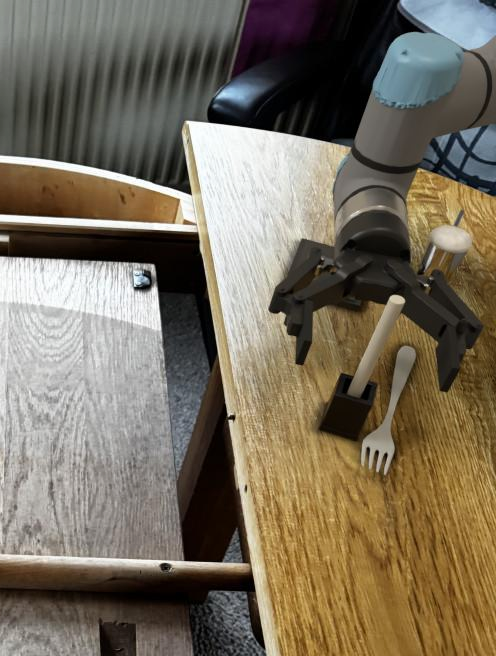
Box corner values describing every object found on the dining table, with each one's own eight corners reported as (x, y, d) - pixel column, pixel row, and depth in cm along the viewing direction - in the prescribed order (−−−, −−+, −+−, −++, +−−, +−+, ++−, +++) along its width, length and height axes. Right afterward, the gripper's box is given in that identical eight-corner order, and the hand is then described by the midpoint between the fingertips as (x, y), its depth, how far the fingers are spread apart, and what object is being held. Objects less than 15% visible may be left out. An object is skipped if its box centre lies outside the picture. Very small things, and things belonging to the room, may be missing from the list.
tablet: (371, 263, 114) (374, 256, 113) (357, 311, 107) (360, 305, 107) (299, 243, 115) (302, 236, 114) (281, 290, 109) (284, 283, 108)
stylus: (350, 416, 95) (406, 297, 84) (348, 425, 95) (404, 305, 83) (337, 412, 96) (391, 292, 84) (334, 421, 95) (389, 301, 84)
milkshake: (443, 295, 111) (483, 215, 103) (435, 319, 108) (476, 238, 100) (405, 283, 112) (442, 203, 103) (397, 307, 109) (434, 226, 101)
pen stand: (362, 417, 96) (379, 382, 93) (356, 441, 94) (373, 406, 91) (324, 406, 97) (340, 371, 93) (318, 429, 95) (333, 394, 91)
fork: (423, 351, 104) (429, 338, 102) (383, 488, 90) (390, 475, 89) (394, 342, 104) (401, 329, 103) (350, 477, 91) (357, 464, 90)
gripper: (472, 296, 101) (492, 423, 88) (245, 255, 102) (233, 374, 90) (507, 231, 95) (533, 357, 82) (264, 189, 96) (254, 307, 84)
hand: (376, 367), depth 86 cm, fingers open, 13 cm apart
